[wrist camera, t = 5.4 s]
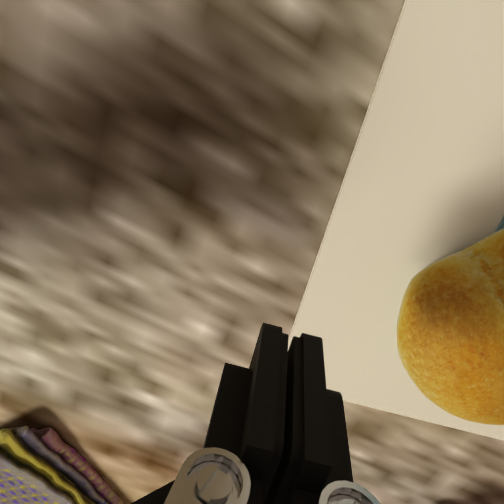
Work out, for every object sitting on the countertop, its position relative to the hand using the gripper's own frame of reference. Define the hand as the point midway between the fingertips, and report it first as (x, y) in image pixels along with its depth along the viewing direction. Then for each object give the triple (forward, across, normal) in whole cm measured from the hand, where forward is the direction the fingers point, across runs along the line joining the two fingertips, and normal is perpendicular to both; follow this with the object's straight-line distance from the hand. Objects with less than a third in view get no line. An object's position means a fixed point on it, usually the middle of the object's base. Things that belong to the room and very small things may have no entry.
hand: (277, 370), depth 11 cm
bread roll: (+6, -9, -1) cm, 11 cm away
